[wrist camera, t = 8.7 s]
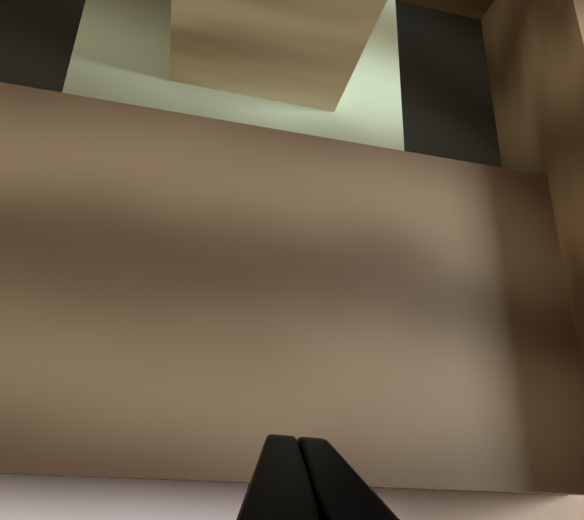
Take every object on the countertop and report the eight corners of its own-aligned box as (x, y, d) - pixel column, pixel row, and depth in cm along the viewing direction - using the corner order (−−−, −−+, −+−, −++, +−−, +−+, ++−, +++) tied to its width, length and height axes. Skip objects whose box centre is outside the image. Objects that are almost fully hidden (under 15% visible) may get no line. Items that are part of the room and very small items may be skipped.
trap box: (571, 494, 19) (731, 498, 14) (-296, 462, 14) (-574, 447, 9) (494, 13, 29) (572, -95, 23) (-44, -112, 24) (-104, -289, 18)
